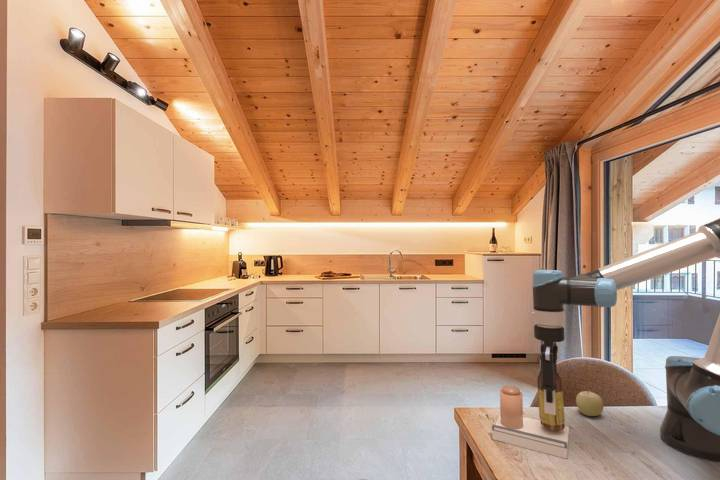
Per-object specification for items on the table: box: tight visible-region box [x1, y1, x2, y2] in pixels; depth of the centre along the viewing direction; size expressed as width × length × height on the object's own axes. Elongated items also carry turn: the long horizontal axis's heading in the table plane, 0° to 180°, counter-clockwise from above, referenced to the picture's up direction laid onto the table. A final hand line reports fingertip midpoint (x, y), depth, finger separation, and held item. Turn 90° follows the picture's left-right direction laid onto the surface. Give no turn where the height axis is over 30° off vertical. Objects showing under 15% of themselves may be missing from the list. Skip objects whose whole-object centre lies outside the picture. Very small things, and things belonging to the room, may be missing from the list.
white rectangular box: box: [491, 415, 570, 459], centre depth 100 cm, size 18×13×4 cm
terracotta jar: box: [499, 385, 524, 429], centre depth 102 cm, size 6×6×10 cm
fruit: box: [575, 389, 604, 417], centre depth 113 cm, size 8×7×8 cm
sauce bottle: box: [537, 352, 566, 431], centre depth 99 cm, size 7×6×20 cm
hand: (551, 408), depth 99 cm, fingers closed on sauce bottle, 6 cm apart
